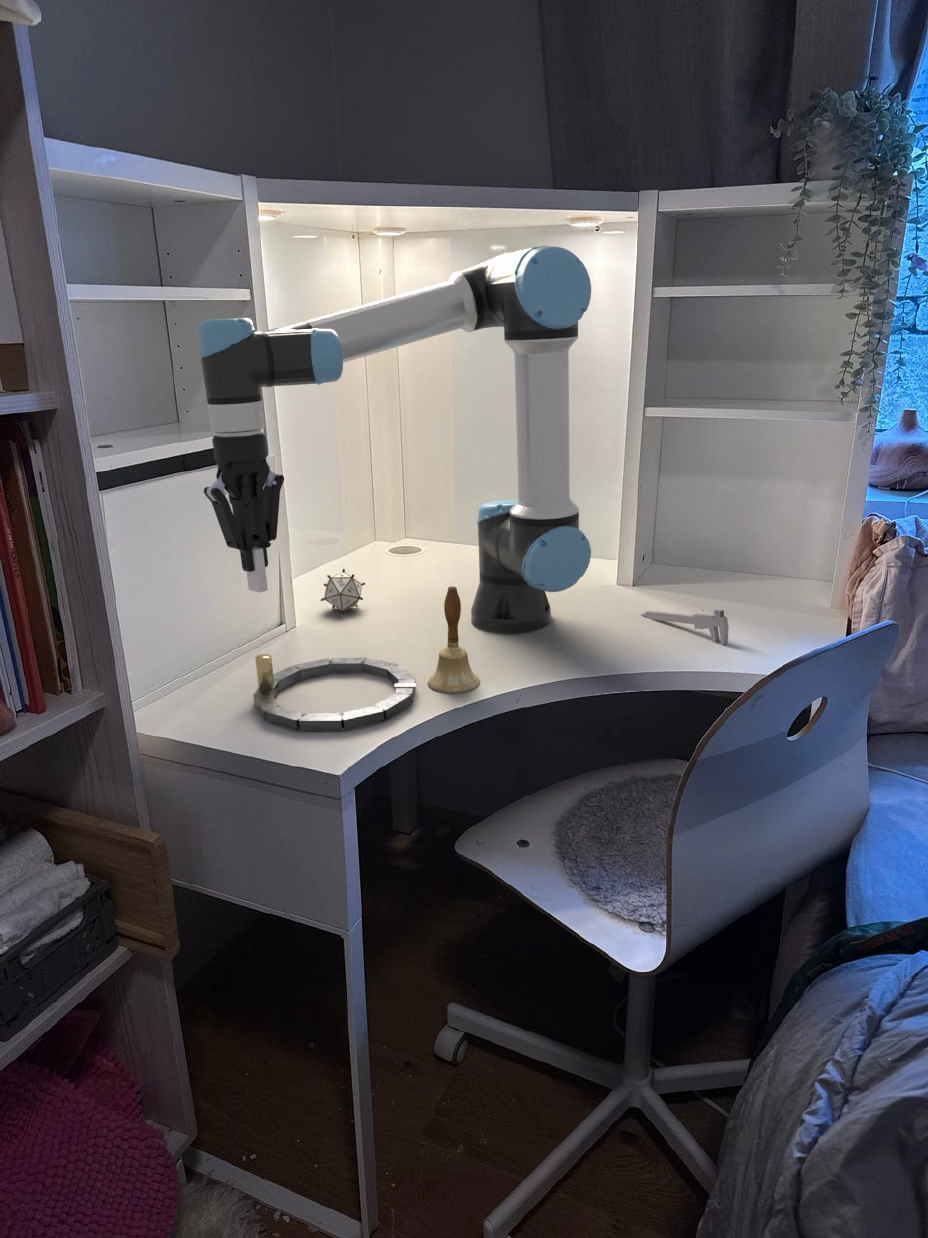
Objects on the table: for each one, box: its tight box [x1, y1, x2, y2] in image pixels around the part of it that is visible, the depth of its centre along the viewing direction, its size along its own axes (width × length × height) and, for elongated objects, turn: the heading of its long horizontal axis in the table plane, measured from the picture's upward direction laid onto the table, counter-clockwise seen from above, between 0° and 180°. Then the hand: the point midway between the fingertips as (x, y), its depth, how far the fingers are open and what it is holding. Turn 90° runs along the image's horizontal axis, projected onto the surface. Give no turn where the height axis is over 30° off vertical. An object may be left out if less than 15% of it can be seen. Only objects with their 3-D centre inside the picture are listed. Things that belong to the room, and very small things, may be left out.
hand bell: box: [427, 586, 481, 694], centre depth 138 cm, size 8×8×16 cm
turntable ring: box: [252, 653, 417, 732], centre depth 136 cm, size 24×24×7 cm
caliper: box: [640, 609, 730, 646], centre depth 161 cm, size 20×1×6 cm, turn 33°
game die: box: [320, 568, 366, 615], centre depth 176 cm, size 9×8×10 cm
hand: (258, 589), depth 134 cm, fingers closed
